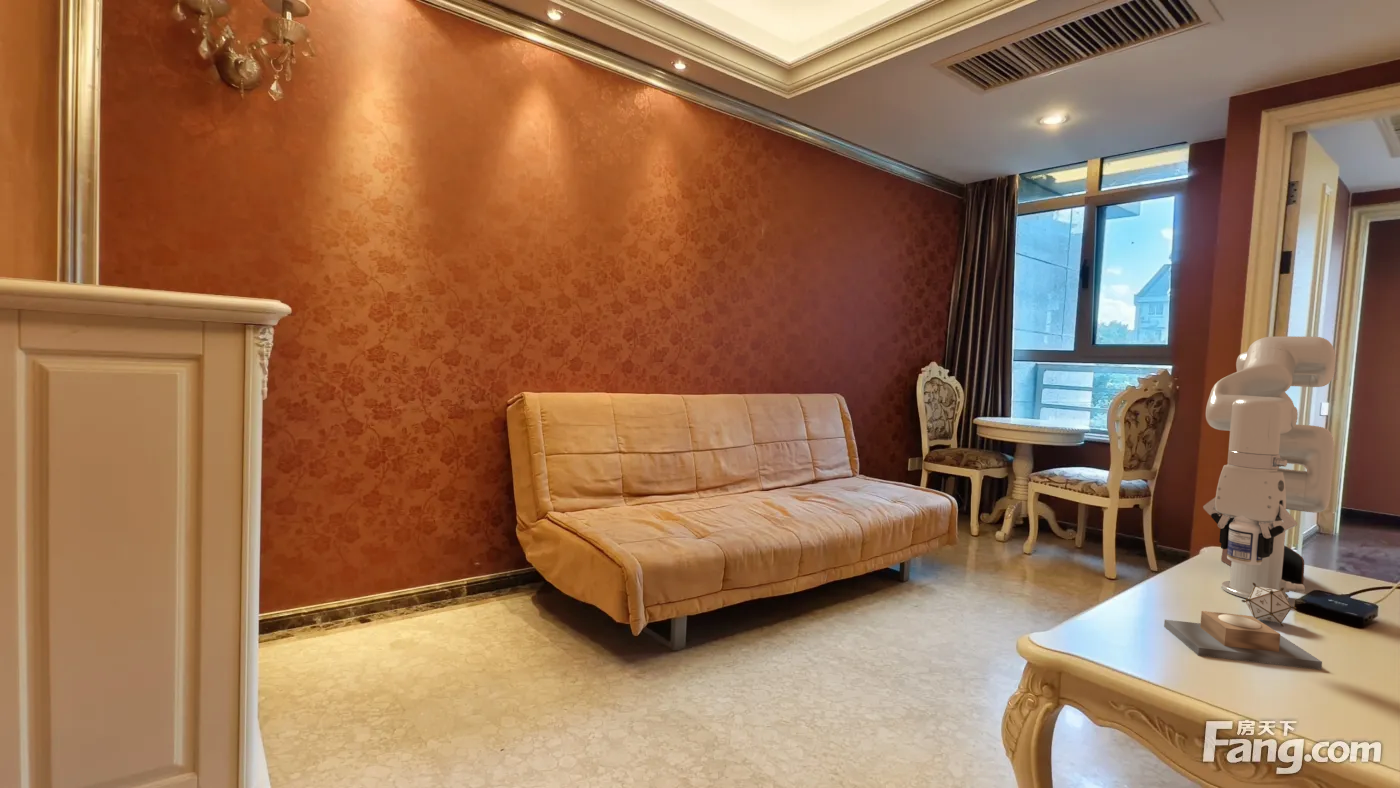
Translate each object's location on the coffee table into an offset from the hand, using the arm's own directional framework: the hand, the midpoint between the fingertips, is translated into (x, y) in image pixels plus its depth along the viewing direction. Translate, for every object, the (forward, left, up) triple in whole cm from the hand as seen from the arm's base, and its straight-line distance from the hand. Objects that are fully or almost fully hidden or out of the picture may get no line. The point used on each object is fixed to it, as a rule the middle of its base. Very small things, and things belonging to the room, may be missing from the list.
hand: (1244, 551), depth 130 cm
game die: (-14, -17, -19) cm, 29 cm away
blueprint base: (0, 0, -19) cm, 19 cm away
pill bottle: (0, 0, -2) cm, 2 cm away
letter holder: (-34, -57, -20) cm, 69 cm away
